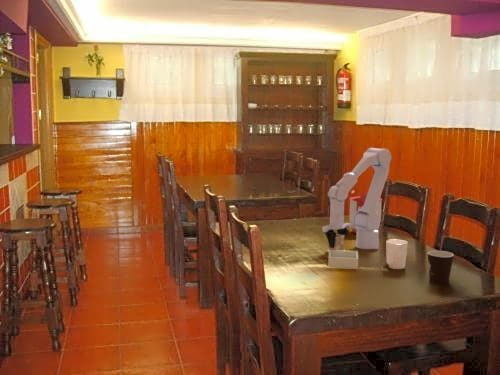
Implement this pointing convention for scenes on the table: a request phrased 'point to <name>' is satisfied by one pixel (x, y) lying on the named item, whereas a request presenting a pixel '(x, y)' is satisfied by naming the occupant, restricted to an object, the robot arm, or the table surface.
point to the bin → (343, 259)
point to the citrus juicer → (358, 203)
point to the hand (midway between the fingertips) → (336, 246)
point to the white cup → (396, 253)
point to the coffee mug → (439, 266)
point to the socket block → (338, 243)
